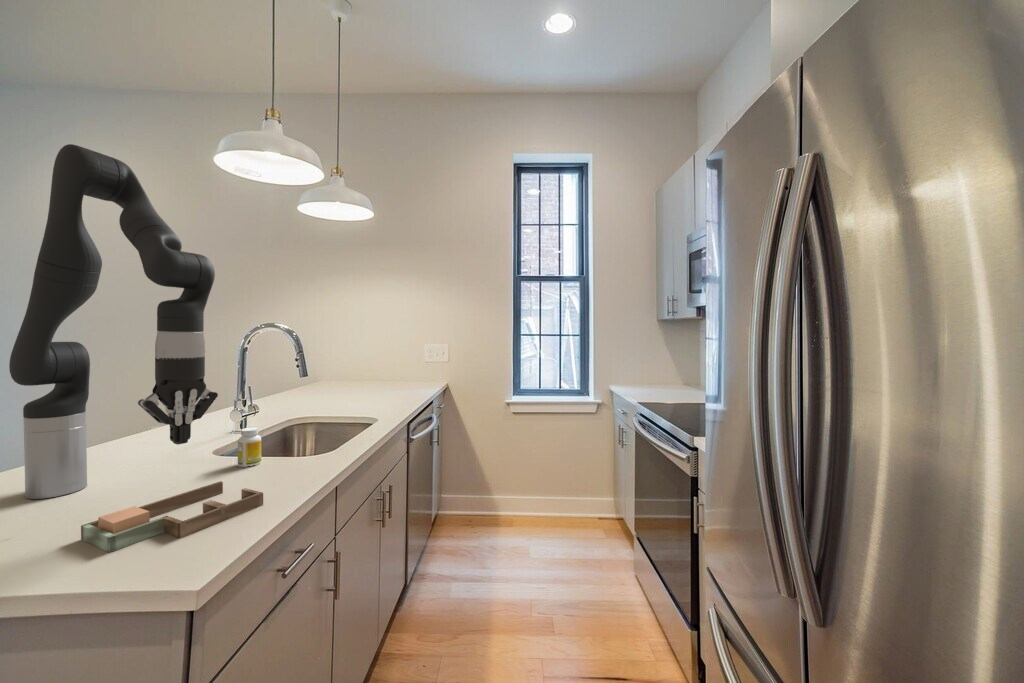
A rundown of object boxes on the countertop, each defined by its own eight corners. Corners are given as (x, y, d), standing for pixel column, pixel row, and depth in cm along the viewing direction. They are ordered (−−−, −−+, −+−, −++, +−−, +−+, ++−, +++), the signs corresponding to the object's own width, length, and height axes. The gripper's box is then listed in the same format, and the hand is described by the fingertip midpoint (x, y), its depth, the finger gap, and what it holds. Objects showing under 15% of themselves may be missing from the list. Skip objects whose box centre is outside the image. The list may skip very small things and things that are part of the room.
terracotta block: (98, 540, 71) (98, 517, 71) (134, 527, 75) (134, 506, 75) (113, 546, 69) (113, 523, 69) (149, 533, 73) (149, 511, 73)
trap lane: (81, 539, 71) (80, 525, 71) (220, 492, 91) (220, 481, 91) (126, 559, 65) (125, 544, 65) (264, 504, 86) (264, 492, 86)
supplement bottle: (233, 467, 107) (233, 431, 107) (244, 461, 113) (244, 426, 112) (255, 467, 108) (254, 431, 108) (265, 460, 113) (265, 426, 113)
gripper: (206, 352, 87) (205, 433, 88) (127, 355, 75) (127, 449, 75) (228, 354, 84) (227, 438, 84) (150, 357, 72) (149, 455, 72)
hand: (180, 443), depth 80 cm, fingers closed
